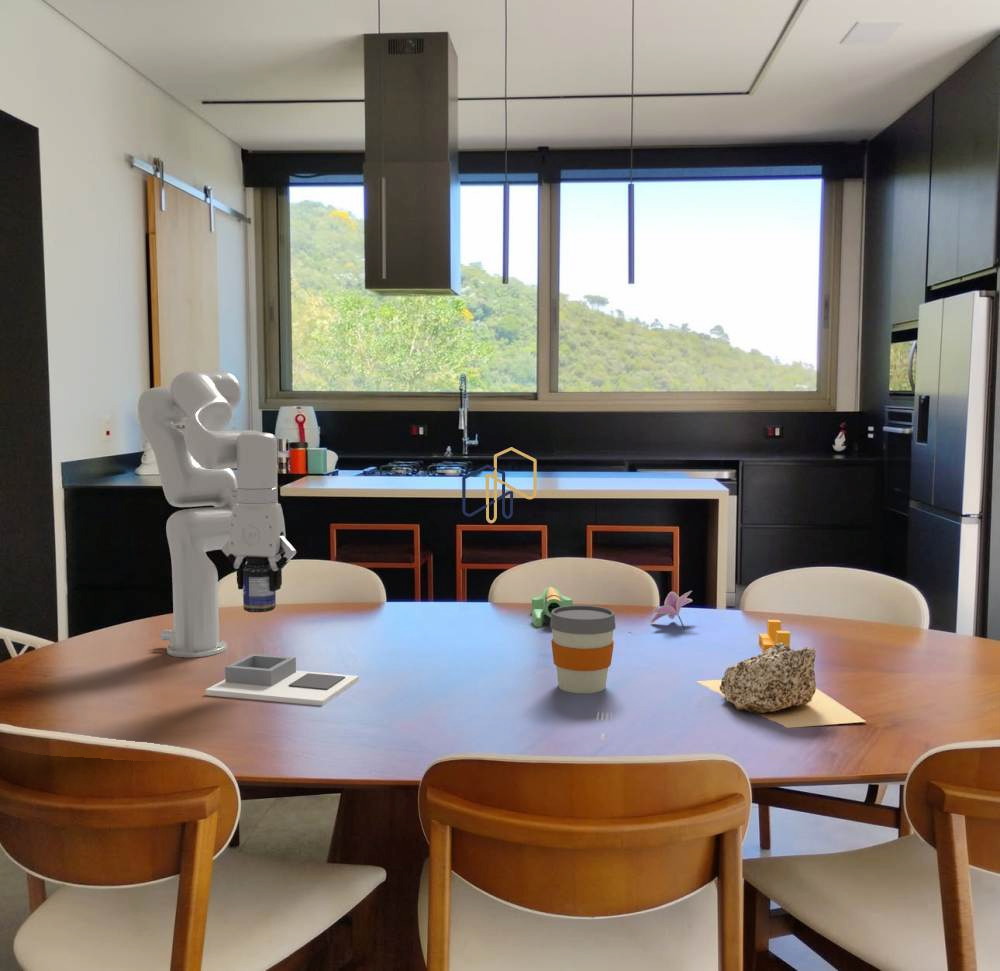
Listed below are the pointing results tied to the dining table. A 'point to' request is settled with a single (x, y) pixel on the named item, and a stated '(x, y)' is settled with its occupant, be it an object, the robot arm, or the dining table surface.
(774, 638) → the orange stepped block
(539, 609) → the toy spaceship
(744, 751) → the dining table surface
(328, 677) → the socket board
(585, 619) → the reusable coffee cup
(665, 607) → the lily
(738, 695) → the rock
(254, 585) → the pill bottle
